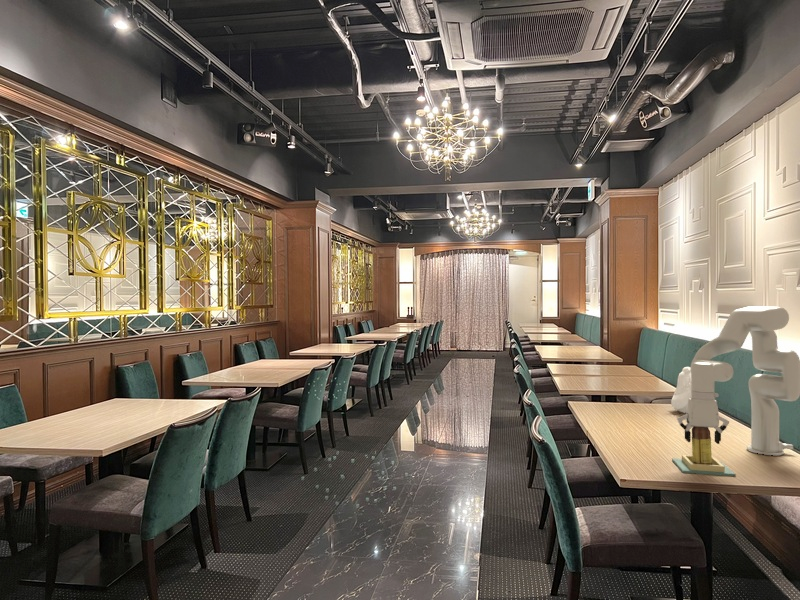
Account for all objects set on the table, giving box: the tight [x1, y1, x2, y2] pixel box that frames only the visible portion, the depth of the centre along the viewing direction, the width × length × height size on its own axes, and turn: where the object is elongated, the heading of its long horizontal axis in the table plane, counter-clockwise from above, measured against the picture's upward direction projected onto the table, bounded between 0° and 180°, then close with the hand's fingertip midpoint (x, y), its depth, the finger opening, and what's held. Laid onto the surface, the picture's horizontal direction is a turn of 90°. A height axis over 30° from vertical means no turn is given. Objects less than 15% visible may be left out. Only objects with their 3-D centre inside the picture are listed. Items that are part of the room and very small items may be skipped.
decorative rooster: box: [670, 366, 691, 414], centre depth 294 cm, size 25×16×25 cm, turn 166°
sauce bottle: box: [691, 427, 713, 465], centre depth 201 cm, size 6×6×20 cm
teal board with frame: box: [671, 454, 737, 477], centre depth 201 cm, size 17×15×3 cm
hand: (702, 442), depth 201 cm, fingers open, 9 cm apart
